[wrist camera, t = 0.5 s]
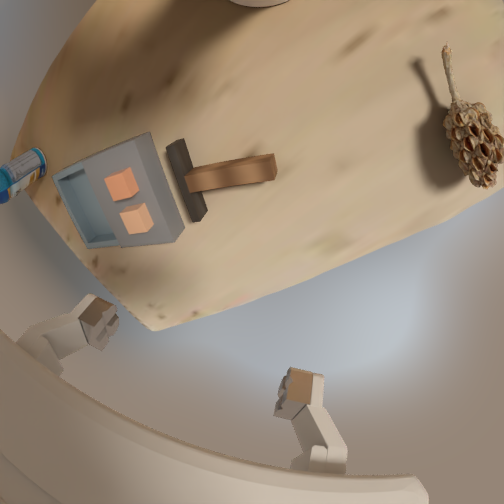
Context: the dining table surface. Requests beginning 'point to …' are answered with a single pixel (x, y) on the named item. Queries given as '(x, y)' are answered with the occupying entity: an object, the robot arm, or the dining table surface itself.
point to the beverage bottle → (21, 173)
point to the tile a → (121, 184)
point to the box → (84, 206)
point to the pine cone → (472, 134)
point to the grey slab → (150, 192)
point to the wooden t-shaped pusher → (215, 175)
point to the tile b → (136, 218)
